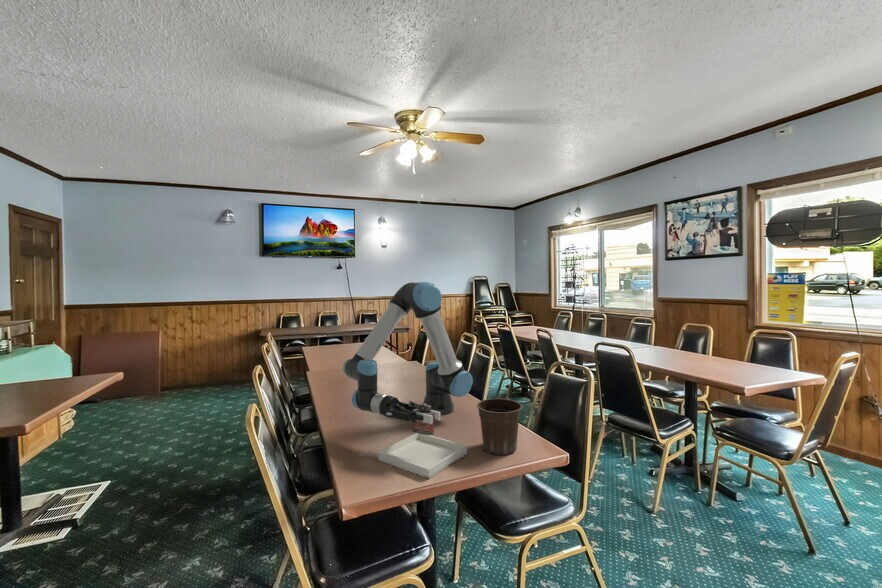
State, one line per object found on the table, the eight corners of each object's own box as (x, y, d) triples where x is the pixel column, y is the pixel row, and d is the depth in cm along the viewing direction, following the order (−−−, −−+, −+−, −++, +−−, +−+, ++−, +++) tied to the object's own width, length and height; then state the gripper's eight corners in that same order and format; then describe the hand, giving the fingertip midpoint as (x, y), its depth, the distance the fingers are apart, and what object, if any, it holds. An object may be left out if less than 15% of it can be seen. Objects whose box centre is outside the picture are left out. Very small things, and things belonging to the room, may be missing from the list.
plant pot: (491, 461, 131) (491, 414, 131) (469, 443, 146) (469, 401, 145) (530, 453, 137) (531, 408, 137) (505, 437, 152) (506, 396, 152)
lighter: (435, 432, 134) (436, 404, 134) (431, 436, 131) (431, 406, 131) (415, 429, 137) (415, 401, 137) (410, 432, 134) (410, 403, 134)
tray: (418, 439, 150) (418, 431, 150) (467, 454, 137) (467, 445, 137) (378, 460, 132) (378, 451, 132) (429, 479, 119) (429, 469, 119)
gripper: (400, 409, 151) (449, 421, 138) (369, 421, 138) (420, 436, 124) (400, 390, 151) (449, 401, 138) (369, 400, 138) (420, 413, 124)
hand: (435, 417), depth 131 cm, fingers closed on lighter, 4 cm apart
